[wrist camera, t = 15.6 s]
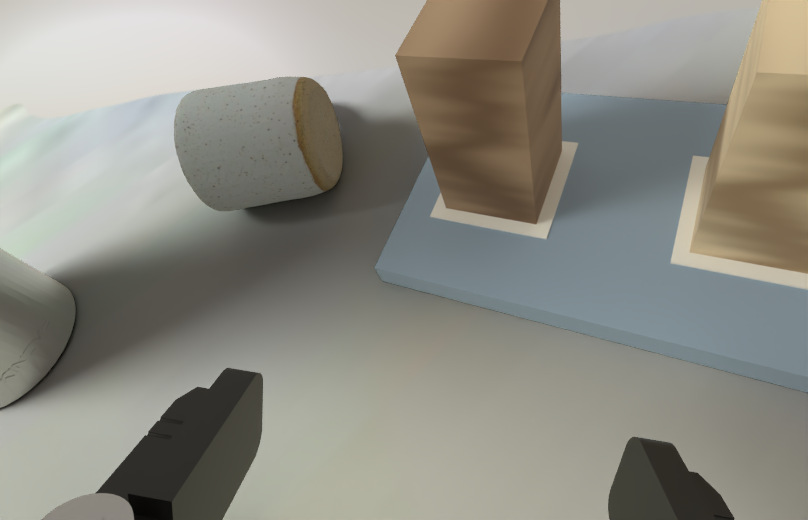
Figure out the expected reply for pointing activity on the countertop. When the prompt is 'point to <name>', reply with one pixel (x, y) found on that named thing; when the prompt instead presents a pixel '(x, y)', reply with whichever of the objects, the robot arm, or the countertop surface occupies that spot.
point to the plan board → (614, 248)
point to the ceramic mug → (258, 142)
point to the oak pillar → (762, 151)
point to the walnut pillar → (488, 101)
